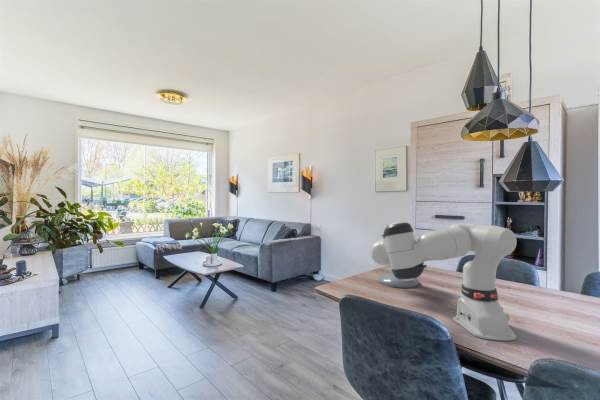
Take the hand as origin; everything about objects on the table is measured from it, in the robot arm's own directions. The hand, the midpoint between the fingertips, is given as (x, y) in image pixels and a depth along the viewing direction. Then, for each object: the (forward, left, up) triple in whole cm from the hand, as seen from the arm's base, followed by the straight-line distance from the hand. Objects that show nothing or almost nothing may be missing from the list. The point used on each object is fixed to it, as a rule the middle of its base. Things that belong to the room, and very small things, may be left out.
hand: (398, 250), depth 170 cm
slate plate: (-1, 0, -18) cm, 18 cm away
